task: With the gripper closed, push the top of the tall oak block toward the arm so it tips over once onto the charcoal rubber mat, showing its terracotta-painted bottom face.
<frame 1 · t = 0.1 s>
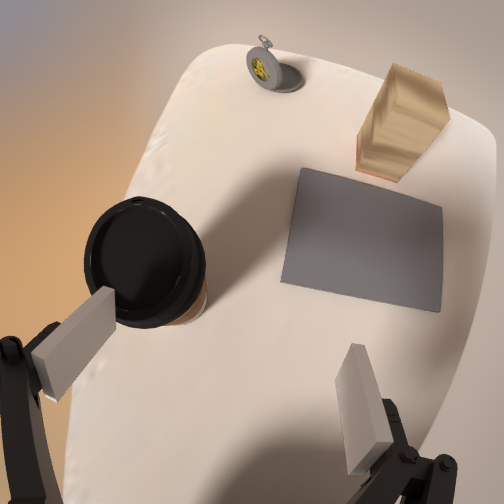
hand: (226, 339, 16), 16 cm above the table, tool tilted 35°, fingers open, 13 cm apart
coffee cup: (179, 297, 32), on the table, touching gripper
oak block: (376, 158, 38), on the table
rubber mat: (373, 240, 34), on the table
pocket watch: (273, 83, 41), on the table
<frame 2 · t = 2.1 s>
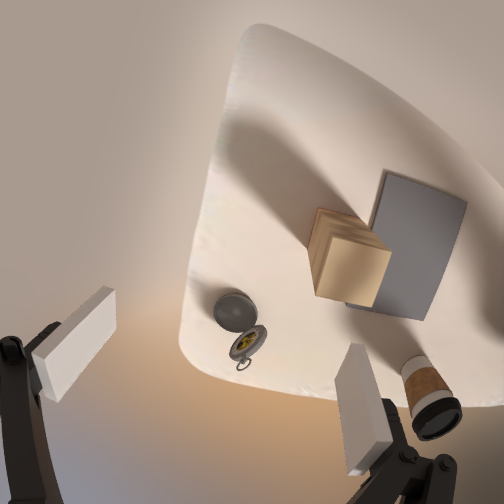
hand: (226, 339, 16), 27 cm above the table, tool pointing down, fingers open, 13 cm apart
coffee cup: (415, 367, 47), on the table
oak block: (333, 233, 41), on the table
rubber mat: (409, 253, 41), on the table
pocket watch: (240, 316, 47), on the table
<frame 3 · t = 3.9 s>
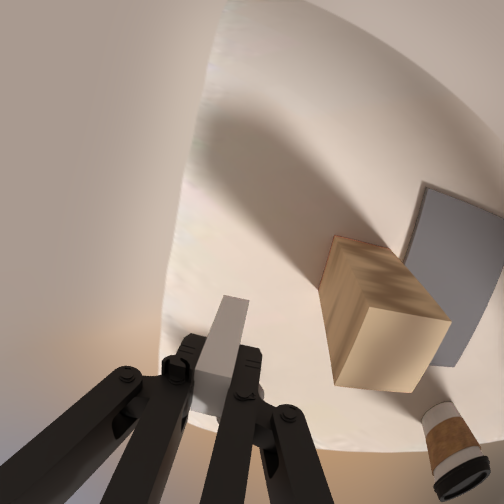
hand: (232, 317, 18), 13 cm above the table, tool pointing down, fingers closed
coffee cup: (437, 413, 36), on the table
oak block: (354, 269, 30), on the table
rubber mat: (447, 290, 29), on the table
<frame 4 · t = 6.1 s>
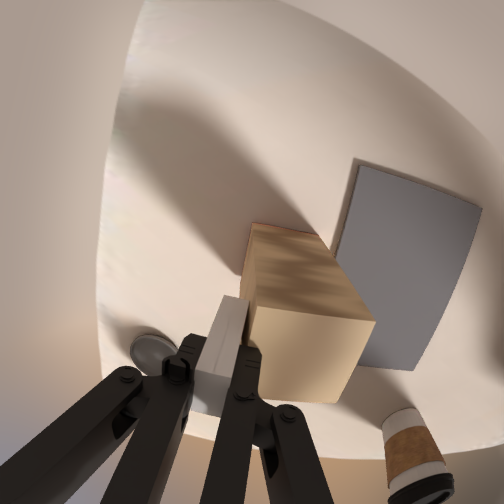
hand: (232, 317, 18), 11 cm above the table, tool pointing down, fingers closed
coffee cup: (400, 420, 35), on the table
oak block: (278, 259, 28), on the table, tilted 7°, touching gripper
rubber mat: (395, 284, 28), on the table
pocket watch: (165, 361, 34), on the table
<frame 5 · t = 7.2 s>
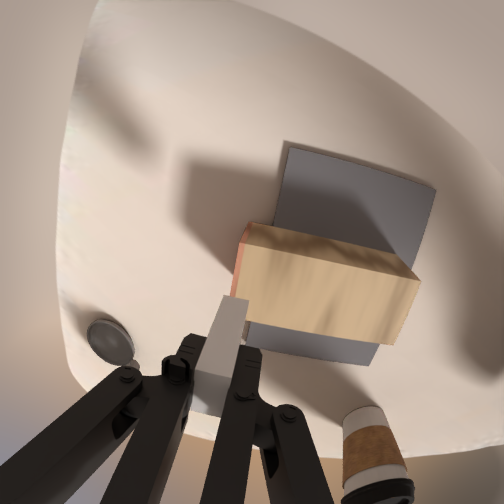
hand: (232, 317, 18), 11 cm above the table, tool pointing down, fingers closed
coffee cup: (363, 418, 35), on the table
oak block: (238, 265, 25), point 4 cm above the table, tilted 90°, touching rubber mat
rubber mat: (338, 271, 28), on the table
pocket watch: (119, 346, 34), on the table
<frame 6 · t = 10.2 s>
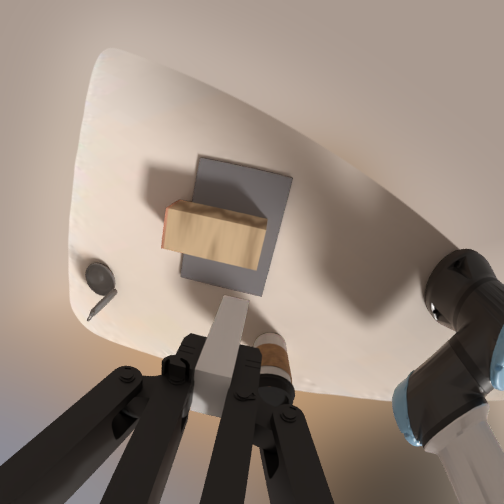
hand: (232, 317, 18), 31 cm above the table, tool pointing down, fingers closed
coffee cup: (270, 344, 55), on the table
oak block: (170, 222, 45), point 4 cm above the table, tilted 90°, touching rubber mat
rubber mat: (232, 229, 48), on the table
pocket watch: (105, 282, 54), on the table
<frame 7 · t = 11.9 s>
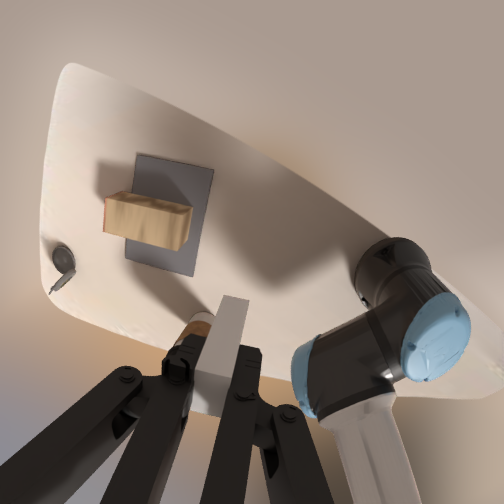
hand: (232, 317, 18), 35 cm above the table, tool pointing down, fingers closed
coffee cup: (205, 323, 61), on the table
oak block: (112, 210, 50), point 4 cm above the table, tilted 90°, touching rubber mat
rubber mat: (165, 216, 53), on the table
pocket watch: (68, 263, 59), on the table
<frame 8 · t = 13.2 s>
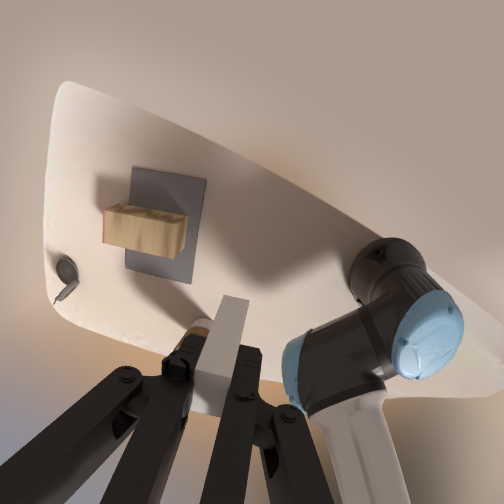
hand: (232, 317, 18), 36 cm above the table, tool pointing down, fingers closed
coffee cup: (205, 329, 62), on the table
oak block: (111, 222, 52), point 4 cm above the table, tilted 90°, touching rubber mat
rubber mat: (162, 226, 55), on the table
pocket watch: (72, 274, 62), on the table
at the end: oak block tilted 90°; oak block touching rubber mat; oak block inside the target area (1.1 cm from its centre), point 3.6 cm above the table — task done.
